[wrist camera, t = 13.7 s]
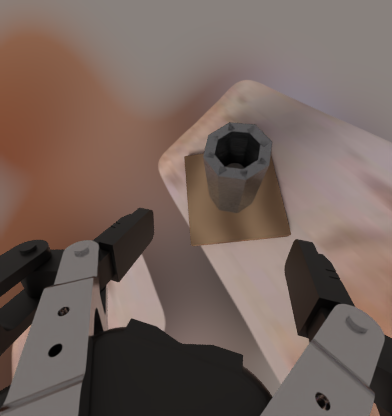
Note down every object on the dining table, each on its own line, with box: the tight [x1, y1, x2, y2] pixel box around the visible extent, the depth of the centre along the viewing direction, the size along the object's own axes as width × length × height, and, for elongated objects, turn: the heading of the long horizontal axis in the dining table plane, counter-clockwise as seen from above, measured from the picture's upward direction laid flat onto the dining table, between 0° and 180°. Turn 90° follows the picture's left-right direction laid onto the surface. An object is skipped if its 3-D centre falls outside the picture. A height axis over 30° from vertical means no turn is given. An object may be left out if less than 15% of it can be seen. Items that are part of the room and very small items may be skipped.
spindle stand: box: [184, 154, 291, 246], centre depth 25 cm, size 13×14×7 cm
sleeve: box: [203, 122, 272, 213], centre depth 22 cm, size 6×6×10 cm
